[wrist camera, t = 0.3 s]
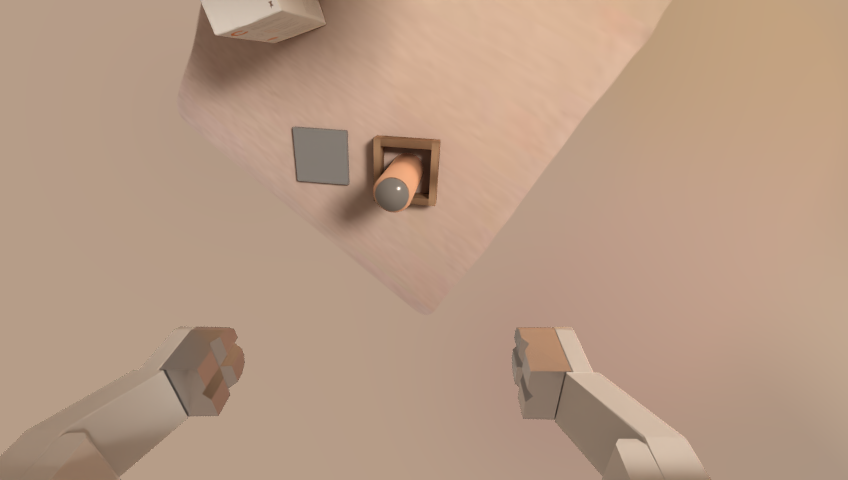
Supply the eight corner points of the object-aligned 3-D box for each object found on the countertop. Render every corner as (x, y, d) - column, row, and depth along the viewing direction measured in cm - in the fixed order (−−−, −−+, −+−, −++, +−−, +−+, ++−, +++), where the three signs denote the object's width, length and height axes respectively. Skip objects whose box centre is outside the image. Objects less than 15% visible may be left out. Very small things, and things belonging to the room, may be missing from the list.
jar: (392, 151, 55) (371, 174, 44) (424, 154, 55) (412, 177, 43) (391, 183, 57) (371, 212, 46) (422, 185, 57) (411, 216, 45)
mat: (294, 126, 55) (292, 127, 55) (347, 130, 54) (346, 131, 54) (299, 179, 58) (297, 180, 58) (349, 183, 58) (348, 184, 57)
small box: (308, -32, 47) (254, -65, 35) (327, 25, 49) (283, 11, 37) (252, -9, 48) (183, -33, 37) (273, 44, 51) (214, 37, 39)
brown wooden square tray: (377, 135, 54) (373, 138, 52) (440, 139, 54) (439, 142, 51) (377, 195, 58) (373, 200, 56) (436, 200, 57) (435, 206, 55)
